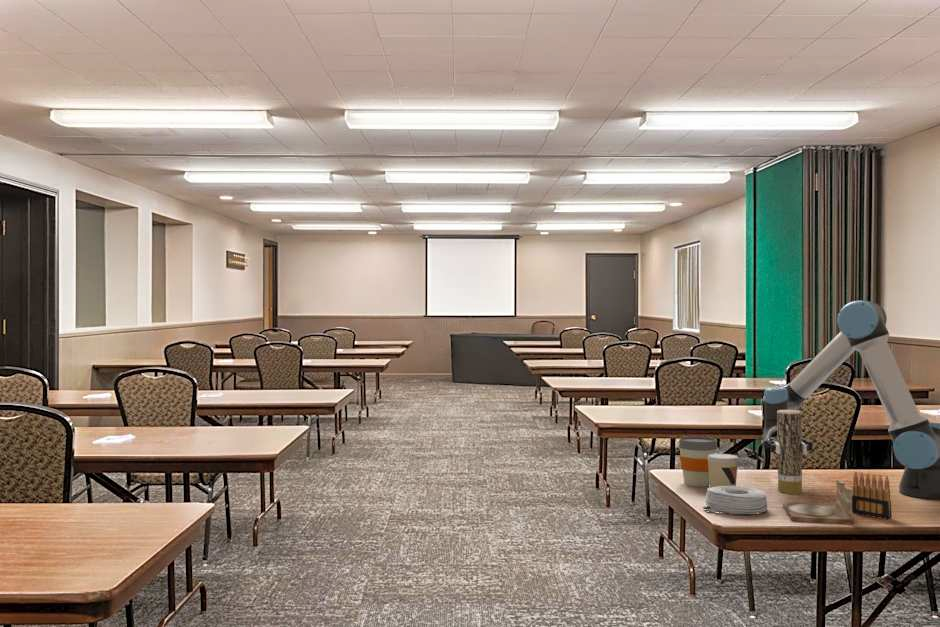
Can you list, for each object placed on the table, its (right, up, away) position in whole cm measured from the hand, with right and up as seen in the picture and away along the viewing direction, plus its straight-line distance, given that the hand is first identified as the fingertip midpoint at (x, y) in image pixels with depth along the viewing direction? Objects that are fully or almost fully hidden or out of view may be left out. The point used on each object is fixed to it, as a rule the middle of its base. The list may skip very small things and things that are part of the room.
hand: (792, 449), depth 246 cm
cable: (-17, -18, -2) cm, 25 cm away
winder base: (+3, -17, -11) cm, 20 cm away
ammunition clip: (+18, -17, -11) cm, 27 cm away
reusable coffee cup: (-19, -17, +33) cm, 42 cm away
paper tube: (+1, -14, +5) cm, 15 cm away
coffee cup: (-15, -17, +18) cm, 29 cm away
